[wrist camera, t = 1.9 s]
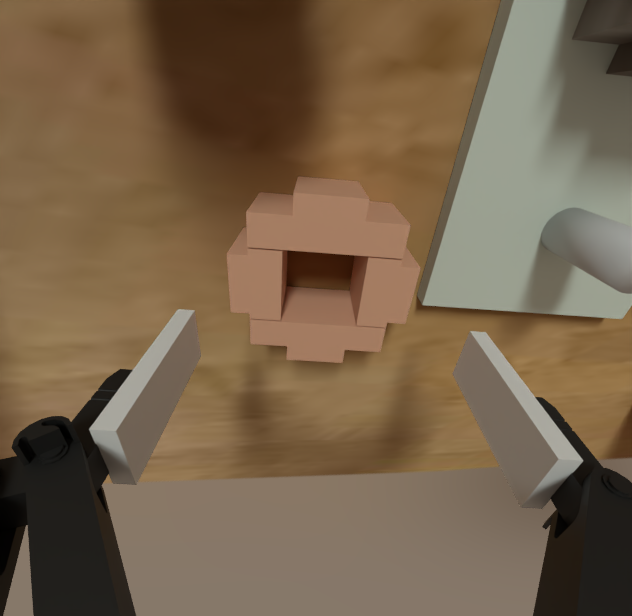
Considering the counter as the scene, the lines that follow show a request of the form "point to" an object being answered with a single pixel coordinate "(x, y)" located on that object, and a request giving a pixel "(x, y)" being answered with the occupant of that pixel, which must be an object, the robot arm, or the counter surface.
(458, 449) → the counter surface
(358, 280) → the gear
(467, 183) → the board
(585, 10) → the gear
